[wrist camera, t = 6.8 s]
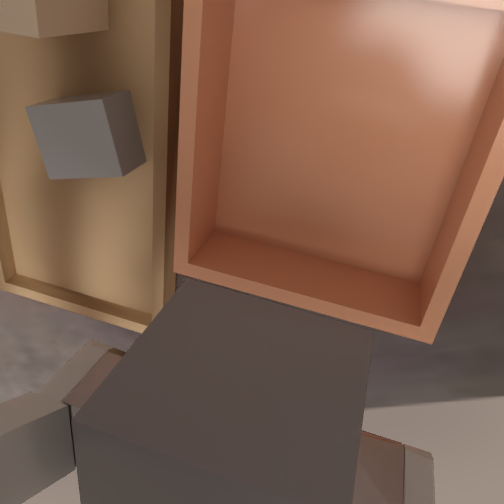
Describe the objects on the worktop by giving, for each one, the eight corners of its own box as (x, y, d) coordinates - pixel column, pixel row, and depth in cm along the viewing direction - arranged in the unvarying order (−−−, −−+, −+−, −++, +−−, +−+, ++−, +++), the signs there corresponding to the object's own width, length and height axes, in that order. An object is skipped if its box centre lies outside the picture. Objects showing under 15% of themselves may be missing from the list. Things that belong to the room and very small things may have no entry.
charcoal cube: (179, 404, 12) (88, 562, 9) (187, 277, 10) (70, 420, 7) (331, 457, 11) (295, 653, 8) (374, 331, 9) (349, 524, 6)
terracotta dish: (205, 234, 22) (173, 272, 19) (227, -50, 16) (186, -60, 13) (428, 292, 20) (431, 344, 17) (546, -8, 14) (582, -8, 11)
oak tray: (15, 275, 27) (-3, 288, 26) (-65, -187, 17) (-102, -200, 15) (173, 323, 25) (162, 339, 24) (194, -165, 15) (176, -178, 13)
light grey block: (77, 164, 21) (49, 179, 20) (57, 97, 20) (24, 106, 18) (146, 161, 20) (122, 176, 18) (129, 89, 19) (102, 99, 17)
